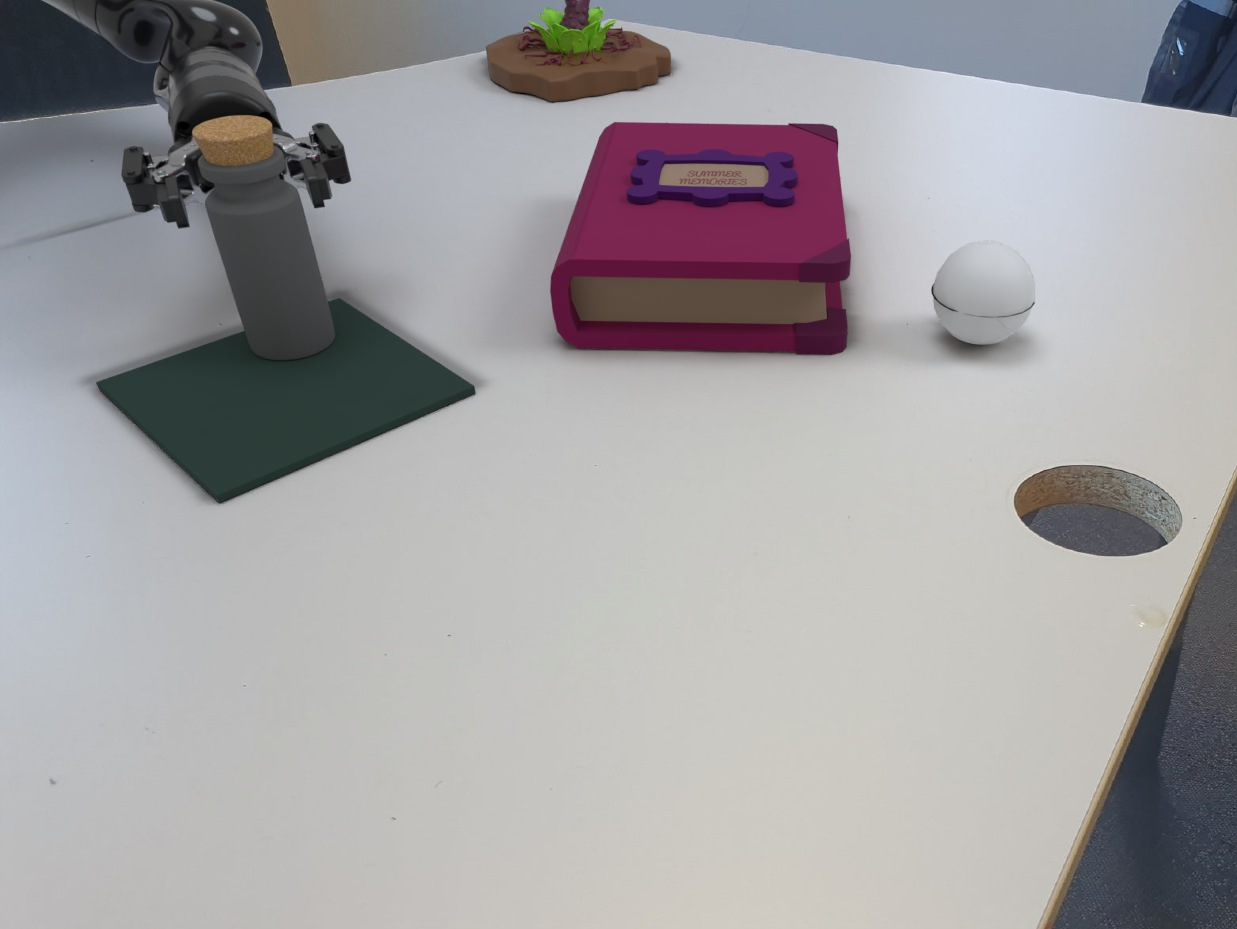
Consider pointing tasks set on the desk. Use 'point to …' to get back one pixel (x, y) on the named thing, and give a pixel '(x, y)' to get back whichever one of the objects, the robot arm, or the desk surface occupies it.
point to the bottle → (263, 239)
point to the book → (707, 241)
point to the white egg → (983, 292)
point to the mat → (280, 401)
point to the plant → (575, 56)
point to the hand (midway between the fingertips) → (248, 203)
